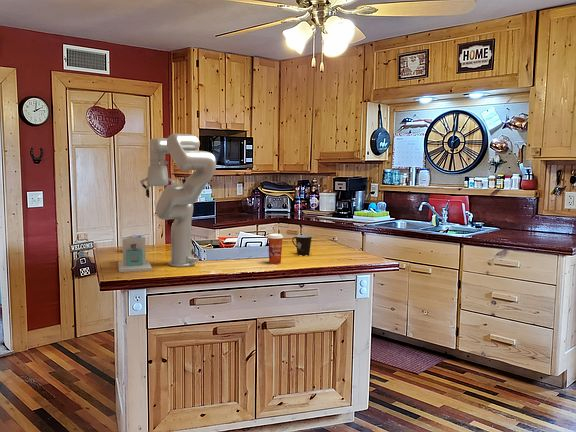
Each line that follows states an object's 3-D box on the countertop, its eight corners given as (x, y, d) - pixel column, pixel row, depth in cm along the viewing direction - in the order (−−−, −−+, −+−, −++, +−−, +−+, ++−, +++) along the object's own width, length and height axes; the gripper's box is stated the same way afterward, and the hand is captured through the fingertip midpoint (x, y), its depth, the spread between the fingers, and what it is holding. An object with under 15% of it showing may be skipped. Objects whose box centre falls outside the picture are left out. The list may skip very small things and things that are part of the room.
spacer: (142, 265, 243) (142, 250, 242) (126, 266, 241) (126, 251, 240) (142, 264, 245) (142, 249, 244) (126, 265, 243) (126, 250, 242)
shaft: (138, 253, 239) (138, 244, 238) (131, 254, 238) (130, 244, 237) (136, 246, 257) (135, 237, 256) (129, 246, 256) (129, 237, 255)
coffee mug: (314, 255, 278) (314, 237, 277) (298, 256, 275) (299, 237, 274) (305, 251, 289) (305, 233, 287) (290, 252, 285) (290, 234, 284)
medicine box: (134, 253, 277) (134, 237, 276) (127, 253, 278) (126, 236, 277) (141, 250, 285) (141, 235, 284) (134, 250, 285) (133, 234, 284)
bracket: (151, 270, 238) (151, 240, 236) (119, 272, 234) (118, 242, 232) (148, 262, 255) (148, 234, 253) (118, 264, 250) (117, 236, 249)
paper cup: (269, 264, 254) (269, 236, 252) (265, 261, 261) (265, 233, 260) (284, 264, 256) (285, 235, 254) (280, 260, 263) (281, 233, 262)
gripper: (174, 163, 271) (174, 196, 273) (139, 163, 266) (140, 197, 268) (176, 163, 264) (176, 197, 266) (140, 163, 259) (140, 198, 261)
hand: (158, 197), depth 267 cm, fingers open, 9 cm apart
